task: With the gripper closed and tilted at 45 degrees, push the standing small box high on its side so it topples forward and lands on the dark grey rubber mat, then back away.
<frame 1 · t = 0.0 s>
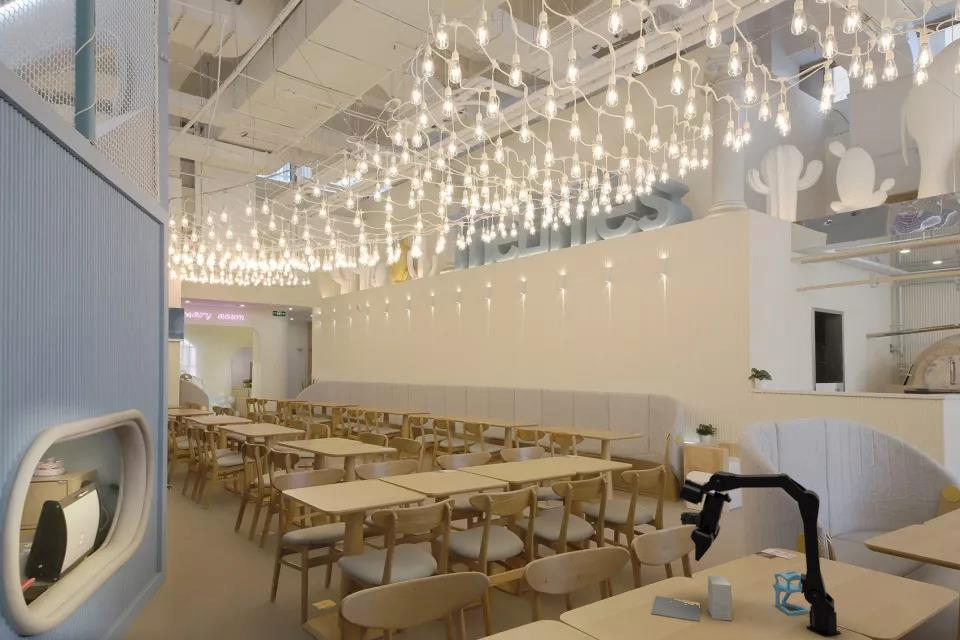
hand: (699, 556, 199), 15 cm above the table, tool pointing down, fingers open, 9 cm apart
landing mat: (676, 608, 196), on the table
chair: (788, 610, 197), on the table
small box: (719, 616, 191), on the table
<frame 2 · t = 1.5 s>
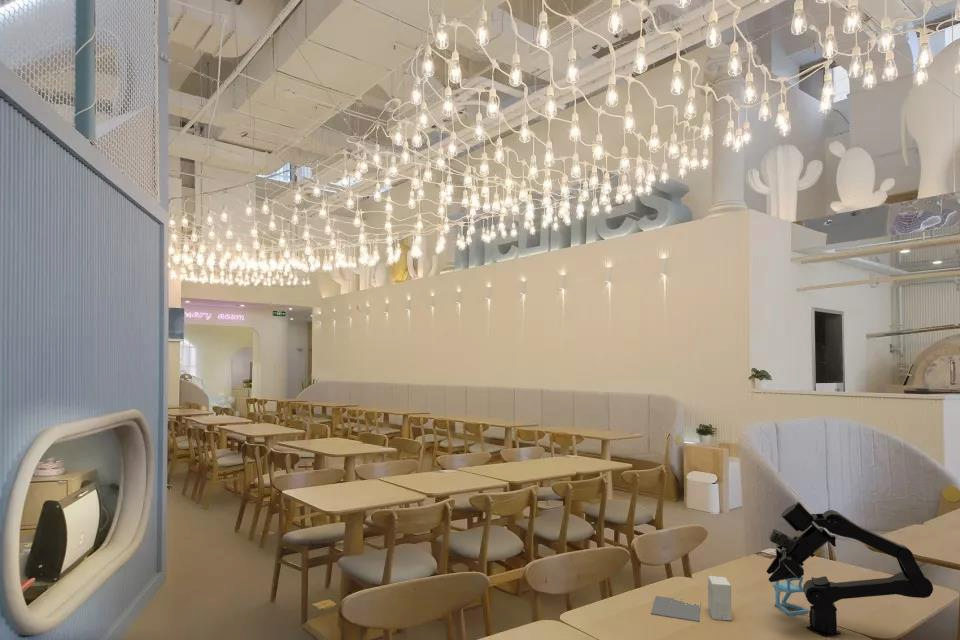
hand: (768, 576, 187), 13 cm above the table, tool tilted 45°, fingers open, 8 cm apart
nothing on the table moved.
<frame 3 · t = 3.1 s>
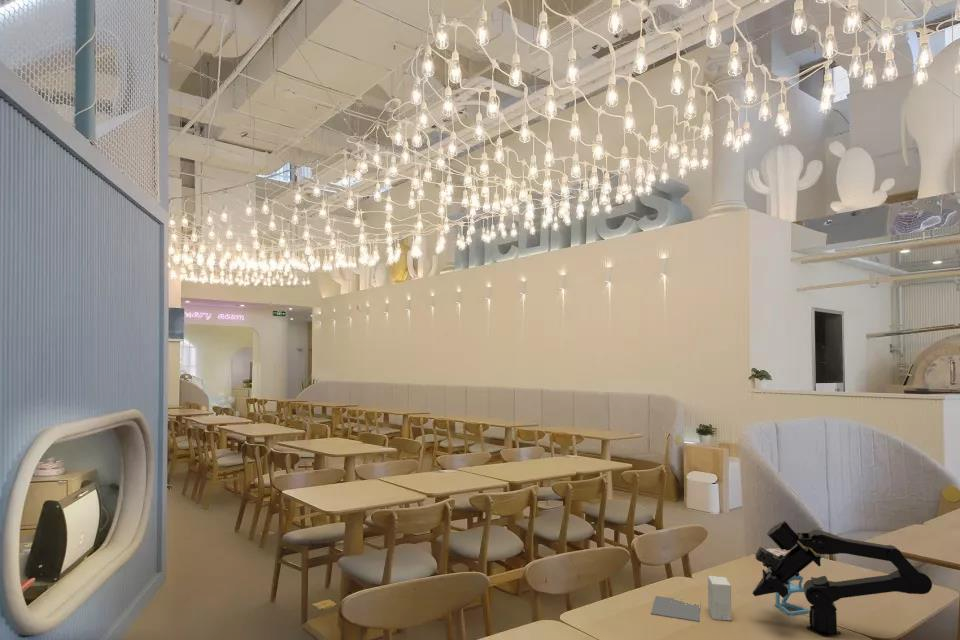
hand: (753, 594, 188), 8 cm above the table, tool tilted 45°, fingers closed
nothing on the table moved.
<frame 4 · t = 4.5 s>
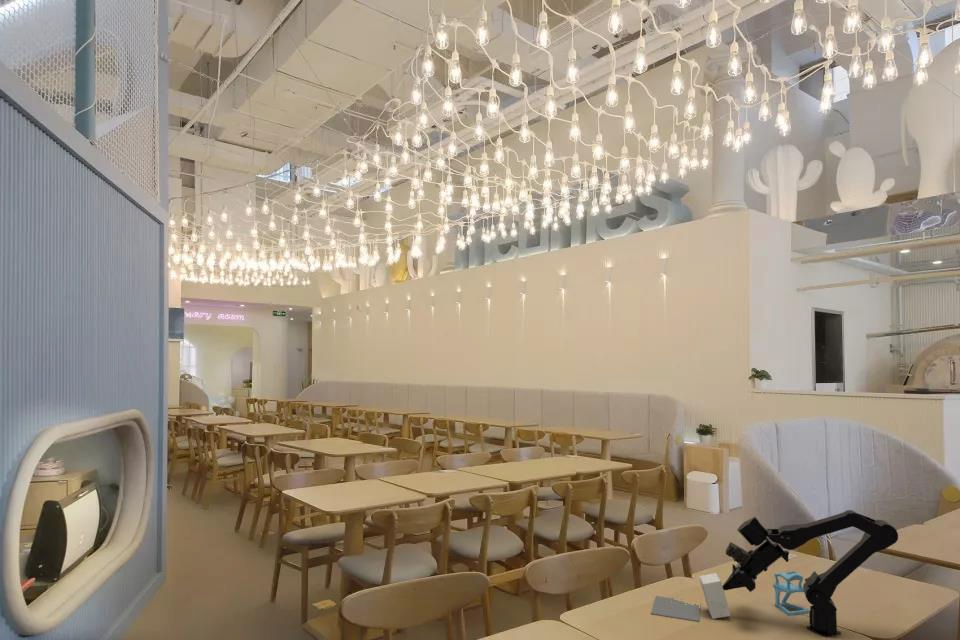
hand: (723, 588, 191), 8 cm above the table, tool tilted 45°, fingers closed
small box: (719, 613, 191), on the table, touching gripper
everything else where it was.
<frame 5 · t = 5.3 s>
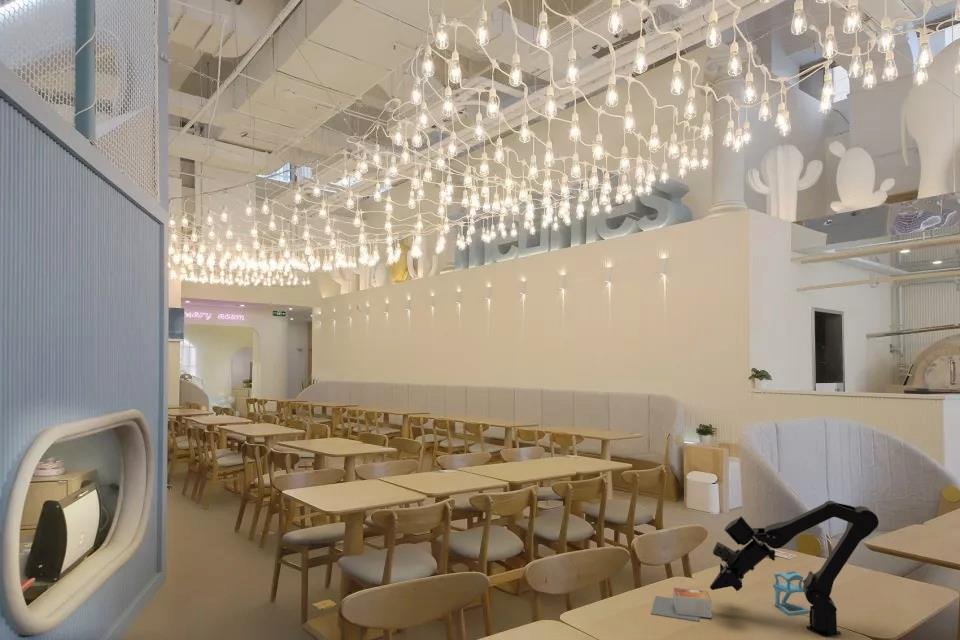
hand: (710, 588, 193), 8 cm above the table, tool tilted 45°, fingers closed
small box: (710, 604, 192), point 3 cm above the table, touching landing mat
everything else where it was.
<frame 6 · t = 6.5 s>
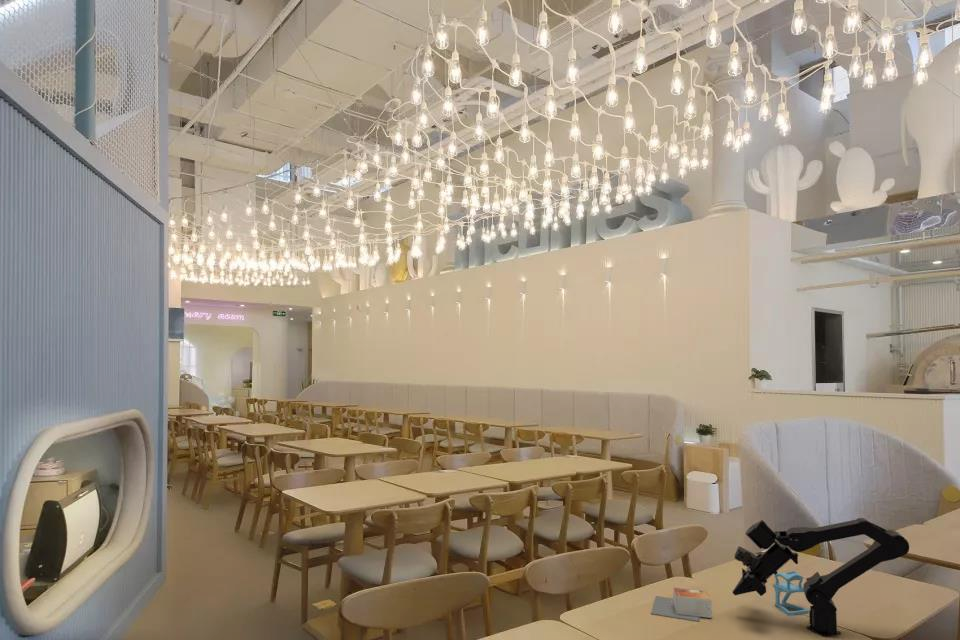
hand: (733, 593, 190), 7 cm above the table, tool tilted 45°, fingers closed
nothing on the table moved.
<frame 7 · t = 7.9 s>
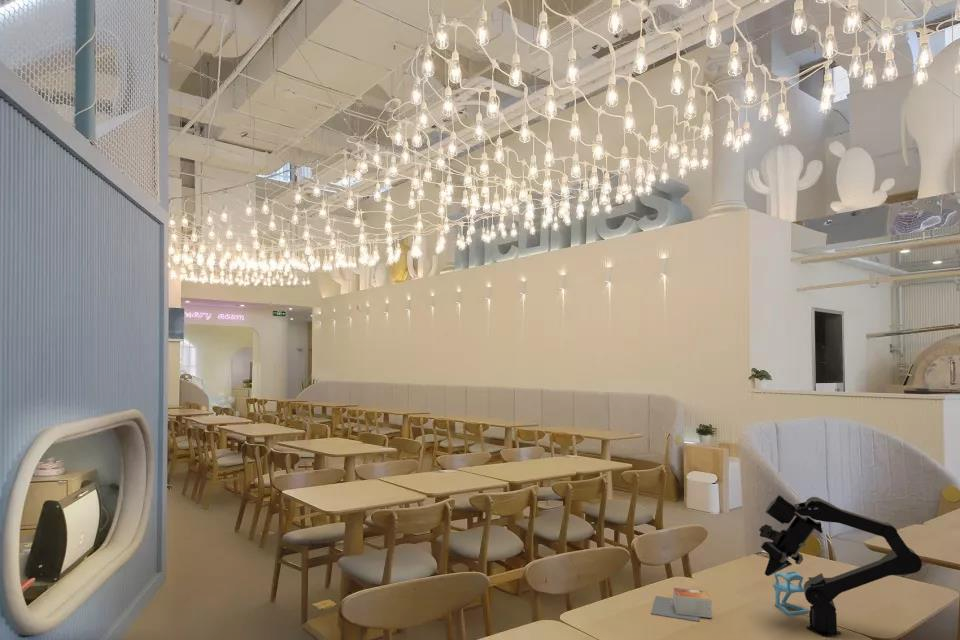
hand: (766, 574, 188), 14 cm above the table, tool tilted 35°, fingers closed
nothing on the table moved.
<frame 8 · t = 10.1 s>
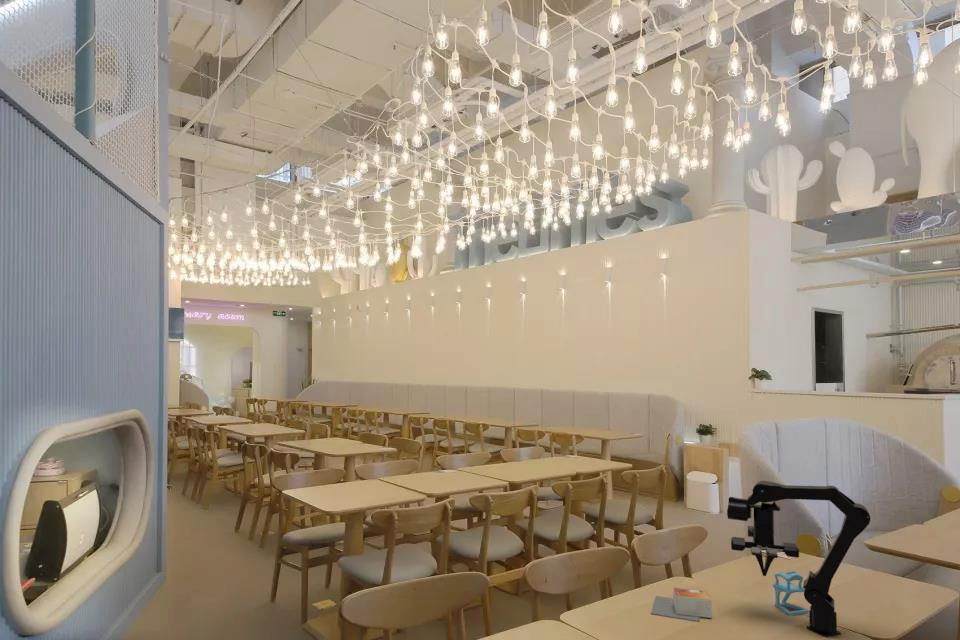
hand: (764, 575, 190), 13 cm above the table, tool pointing down, fingers closed
nothing on the table moved.
at the end: small box tilted 90°; small box touching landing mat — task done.
